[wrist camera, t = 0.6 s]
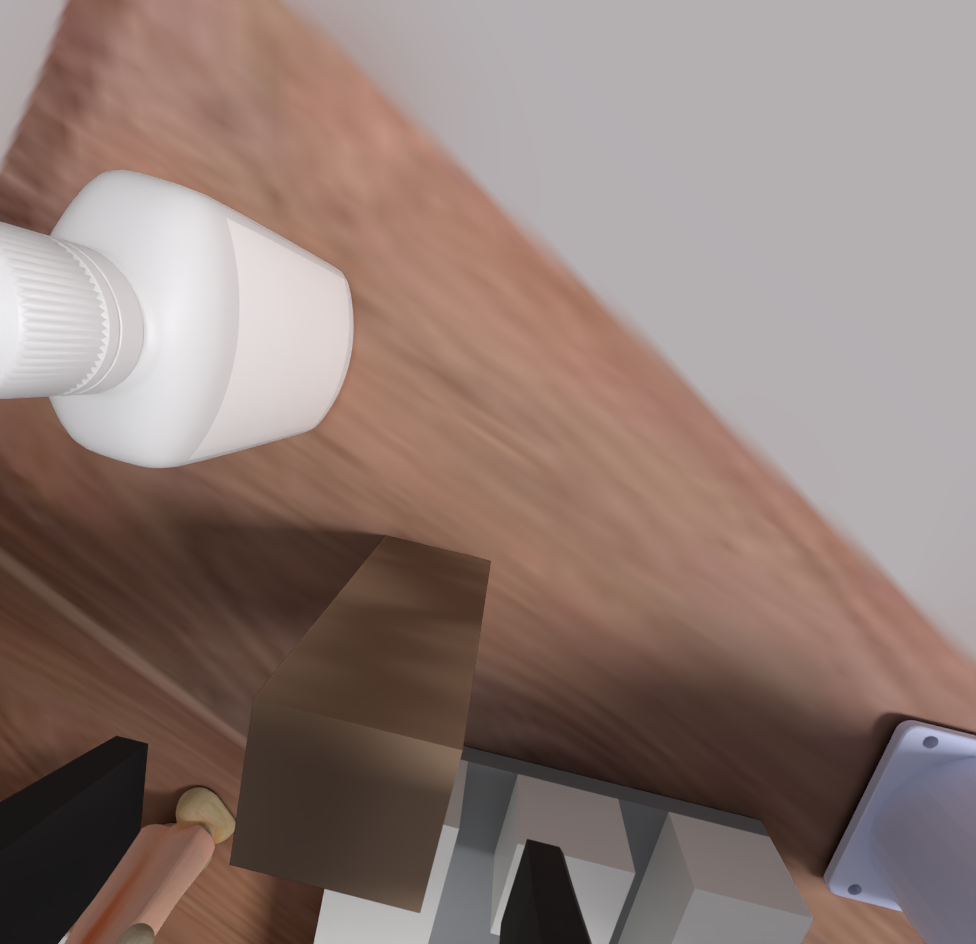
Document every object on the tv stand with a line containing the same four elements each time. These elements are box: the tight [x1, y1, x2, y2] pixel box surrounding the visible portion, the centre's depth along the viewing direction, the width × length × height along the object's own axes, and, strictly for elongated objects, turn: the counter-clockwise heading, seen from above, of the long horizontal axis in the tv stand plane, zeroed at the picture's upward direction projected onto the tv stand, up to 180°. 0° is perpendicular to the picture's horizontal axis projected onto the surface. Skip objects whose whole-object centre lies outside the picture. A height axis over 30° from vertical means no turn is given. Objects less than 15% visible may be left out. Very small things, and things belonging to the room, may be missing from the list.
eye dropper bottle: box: [0, 170, 354, 468], centre depth 11 cm, size 4×6×12 cm
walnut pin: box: [230, 536, 491, 913], centre depth 14 cm, size 4×4×9 cm
